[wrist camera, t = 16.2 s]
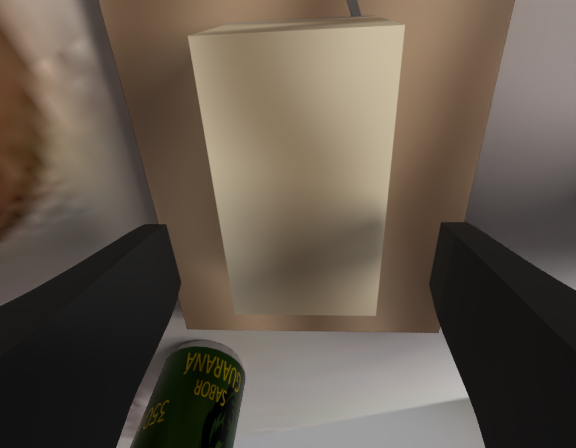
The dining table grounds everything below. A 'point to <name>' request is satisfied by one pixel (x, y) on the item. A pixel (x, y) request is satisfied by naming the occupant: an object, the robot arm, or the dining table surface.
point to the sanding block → (301, 157)
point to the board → (405, 156)
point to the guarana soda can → (194, 399)
